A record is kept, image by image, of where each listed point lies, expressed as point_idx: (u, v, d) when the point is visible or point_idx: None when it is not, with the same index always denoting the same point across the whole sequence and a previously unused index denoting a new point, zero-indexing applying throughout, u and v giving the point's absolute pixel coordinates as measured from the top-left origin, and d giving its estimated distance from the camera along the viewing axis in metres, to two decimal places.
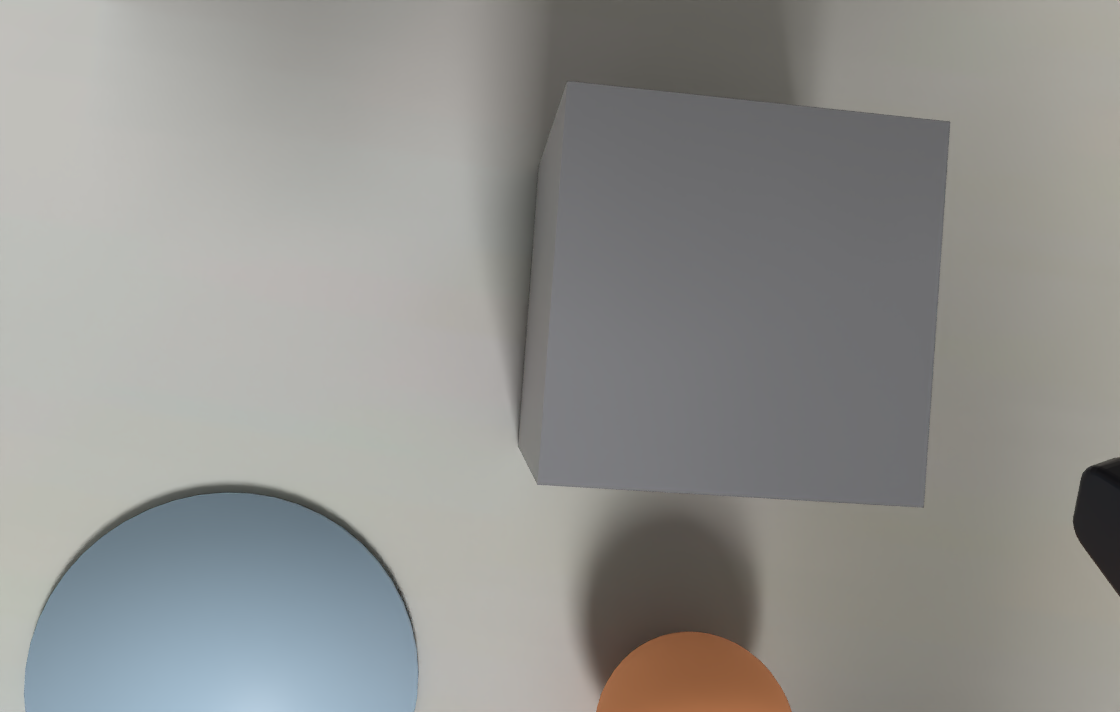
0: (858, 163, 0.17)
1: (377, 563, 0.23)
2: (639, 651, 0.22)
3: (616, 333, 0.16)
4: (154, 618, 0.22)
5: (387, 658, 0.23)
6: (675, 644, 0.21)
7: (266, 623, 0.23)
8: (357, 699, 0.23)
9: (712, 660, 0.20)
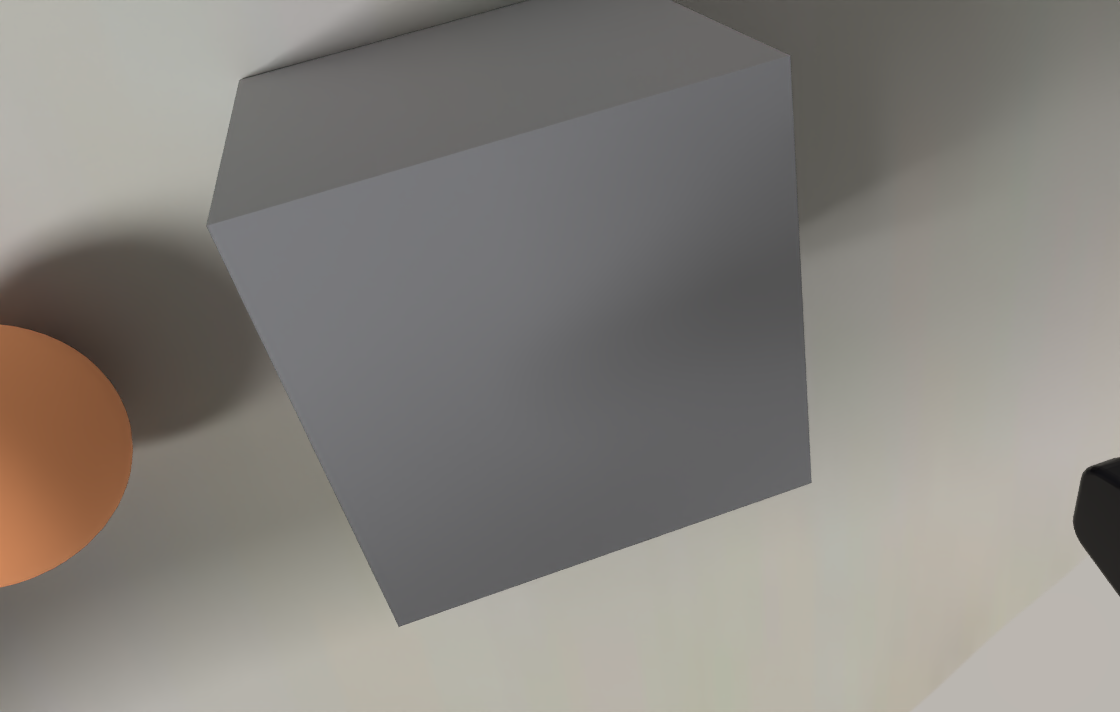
0: (752, 422, 0.14)
1: None
2: (53, 354, 0.16)
3: (469, 247, 0.11)
4: None
5: None
6: (88, 395, 0.16)
7: None
8: None
9: (95, 451, 0.16)
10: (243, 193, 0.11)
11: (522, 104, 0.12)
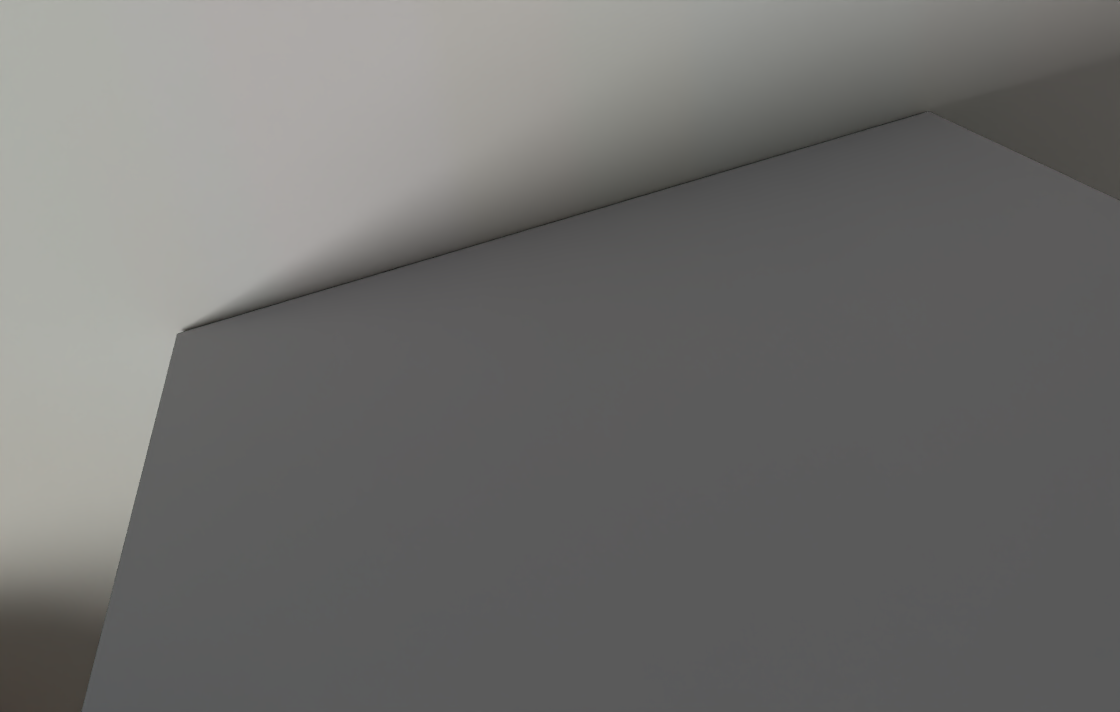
0: None
1: None
2: None
3: None
4: None
5: None
6: None
7: None
8: None
9: None
10: None
11: None
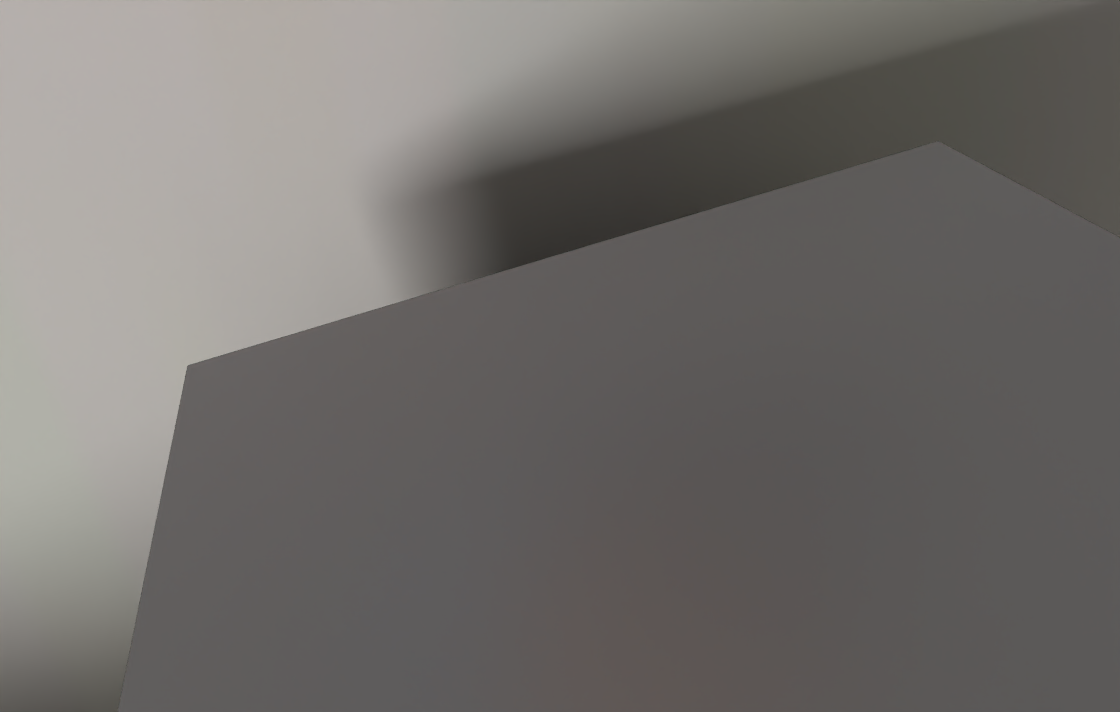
0: None
1: None
2: None
3: None
4: None
5: None
6: None
7: None
8: None
9: None
10: None
11: None
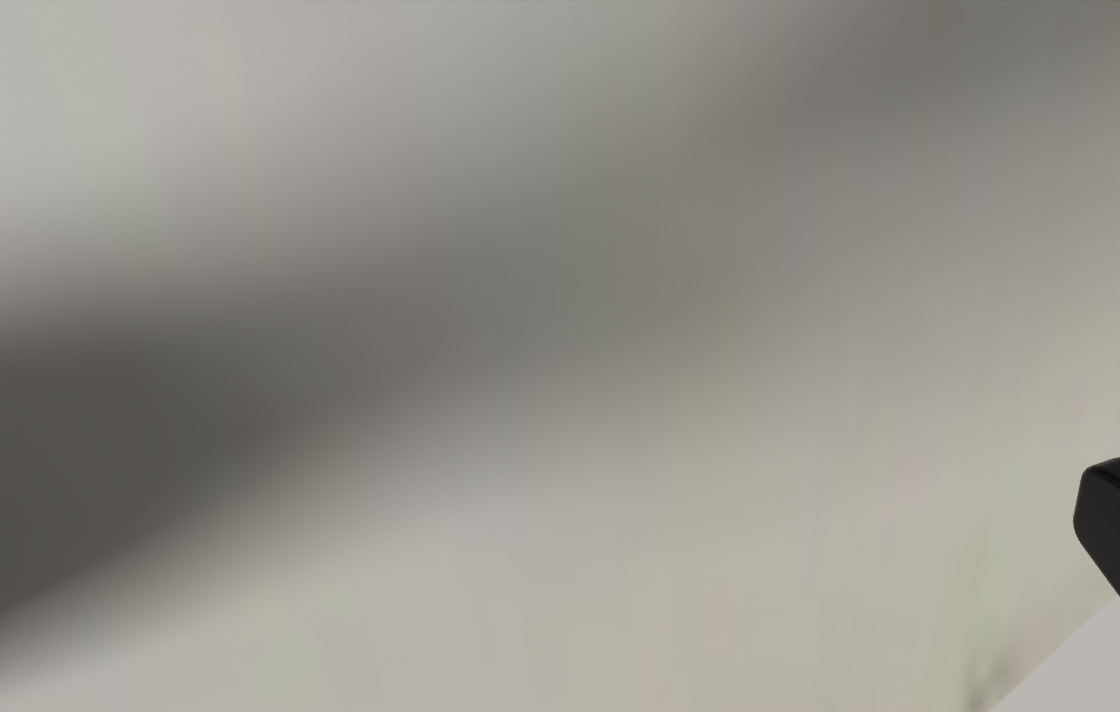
0: None
1: None
2: None
3: None
4: None
5: None
6: None
7: None
8: None
9: None
10: None
11: None
